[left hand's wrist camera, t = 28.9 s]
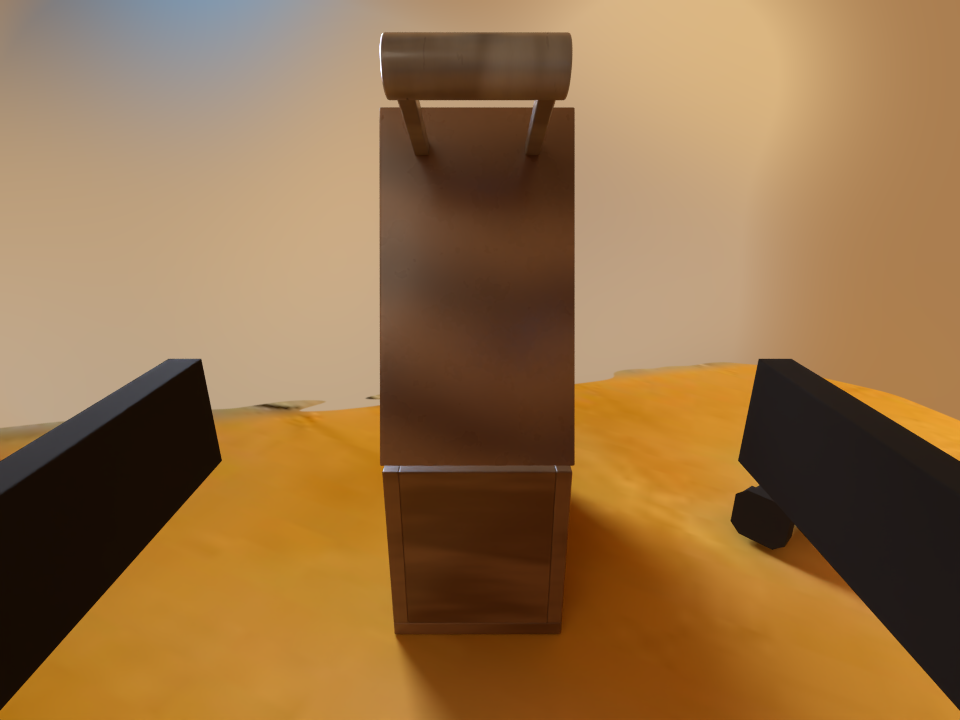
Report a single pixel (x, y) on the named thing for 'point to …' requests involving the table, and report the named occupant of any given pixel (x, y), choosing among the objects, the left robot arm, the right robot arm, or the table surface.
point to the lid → (476, 252)
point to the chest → (477, 548)
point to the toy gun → (761, 518)
